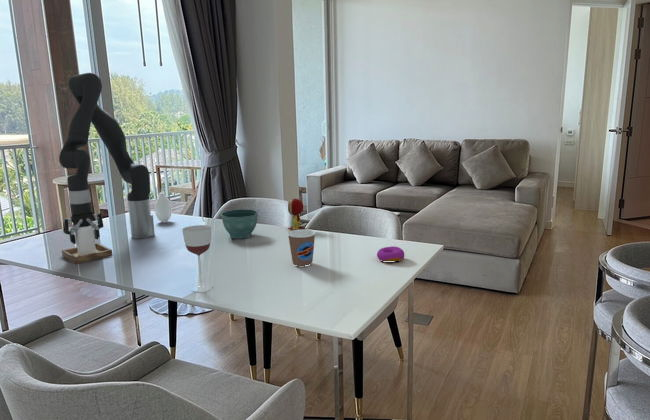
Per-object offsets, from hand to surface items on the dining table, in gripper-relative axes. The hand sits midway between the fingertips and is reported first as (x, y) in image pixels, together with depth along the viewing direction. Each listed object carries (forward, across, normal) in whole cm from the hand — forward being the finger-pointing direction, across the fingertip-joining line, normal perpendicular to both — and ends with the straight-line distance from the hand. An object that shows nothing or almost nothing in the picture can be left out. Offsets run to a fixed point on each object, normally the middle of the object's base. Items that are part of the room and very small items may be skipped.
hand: (85, 241), depth 191 cm
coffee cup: (+6, -50, +72) cm, 89 cm away
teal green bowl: (+6, -58, +22) cm, 63 cm away
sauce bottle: (+6, -48, -30) cm, 58 cm away
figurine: (+6, -82, +34) cm, 89 cm away
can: (+6, 0, 0) cm, 6 cm away
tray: (+6, 0, 0) cm, 6 cm away
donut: (+7, -76, +94) cm, 121 cm away
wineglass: (+6, -12, +66) cm, 67 cm away
